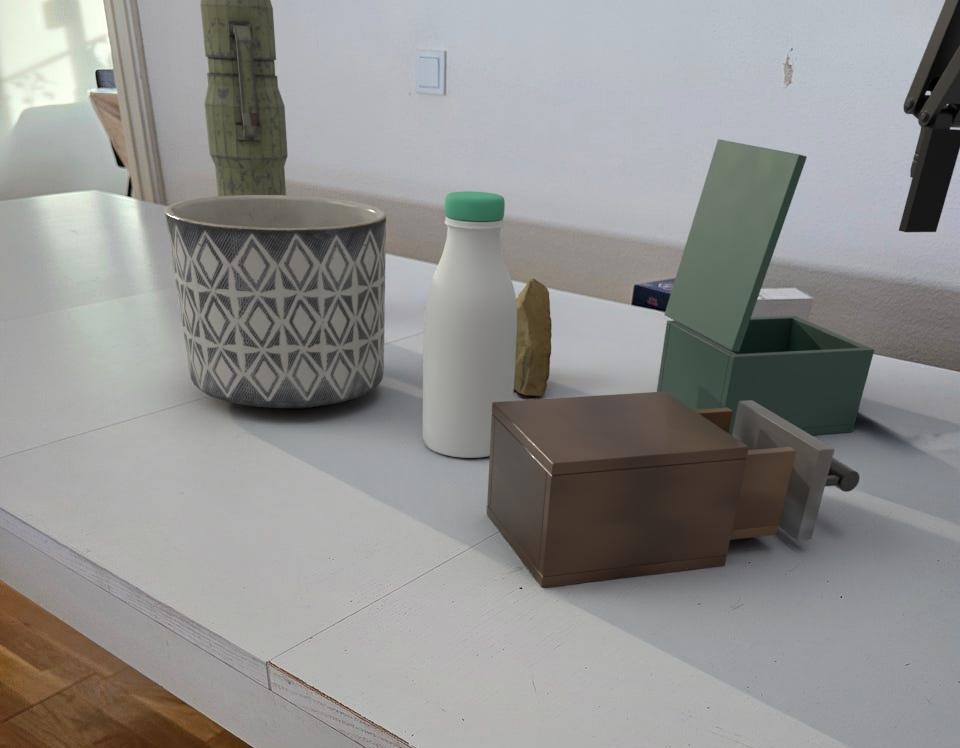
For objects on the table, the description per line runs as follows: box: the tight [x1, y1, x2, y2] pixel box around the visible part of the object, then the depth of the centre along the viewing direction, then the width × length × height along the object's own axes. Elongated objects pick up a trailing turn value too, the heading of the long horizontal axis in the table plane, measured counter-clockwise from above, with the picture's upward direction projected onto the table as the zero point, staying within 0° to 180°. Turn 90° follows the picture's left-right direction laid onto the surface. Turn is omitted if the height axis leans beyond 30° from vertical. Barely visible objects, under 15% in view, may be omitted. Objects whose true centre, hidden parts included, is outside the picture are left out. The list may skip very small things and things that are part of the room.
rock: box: [514, 278, 553, 397], centre depth 95 cm, size 11×9×10 cm
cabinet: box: [486, 391, 749, 588], centre depth 65 cm, size 14×12×9 cm
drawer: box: [694, 400, 861, 542], centre depth 67 cm, size 17×10×7 cm, turn 108°
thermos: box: [199, 0, 289, 196], centre depth 108 cm, size 9×12×35 cm
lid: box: [664, 138, 807, 352], centre depth 82 cm, size 15×13×1 cm
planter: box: [164, 194, 387, 410], centre depth 87 cm, size 19×19×16 cm
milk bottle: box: [422, 190, 517, 459], centre depth 76 cm, size 8×8×20 cm
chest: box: [656, 315, 875, 436], centre depth 90 cm, size 15×13×8 cm
